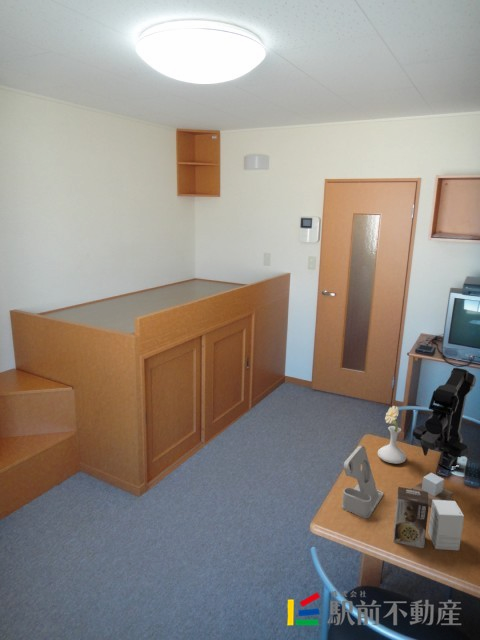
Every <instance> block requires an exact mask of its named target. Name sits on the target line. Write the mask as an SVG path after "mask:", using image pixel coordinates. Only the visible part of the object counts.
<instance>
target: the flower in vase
mask: <svg viewBox="0 0 480 640" xmlns="http://www.w3.org/2000/svg"><path fill="white" fill-rule="evenodd" d="M399 414H400V412H399V407H398V406H396V405H392V407H391V406H390V407H389V408H388V410H387V412H386V413H385V416H384V421H385V423H386V424H389V425H390V424H392V425H390V426H388V428H387V429H388V431H389V433H390V440H389V441H390V442H389V443H388V444H386V445H384V446H381V448H379V449H378V451H377V455H378V457H379V459H381V460H382V461H384V462H386V463H390V464H395V465H396V464H397V465H398V464H402V463H404V462H405V461H406V460H407V455H406V453H405V452H404V451H403V450H402V449H401V448H400V447H399V446H398V445H397V439H398V435H399V433H400V432H401V431H402V428H401V427H399V425H398V421H397V420H398V416H399Z"/></svg>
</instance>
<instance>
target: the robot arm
mask: <svg viewBox="0 0 480 640" xmlns="http://www.w3.org/2000/svg"><path fill="white" fill-rule="evenodd" d="M476 380H477V378H476V375H474V374H473V373H472V372H470V371H469V370H467V369H466V368H460V367H453V368H452V370H451V373H450V375H449V377H448V379H447V380H446V382H445V383H444V384H442V385H439V386H438V387H436V389H435V390H433V392H432V396H431V399H430V402H429V406H428V410H431V411H432V413H431V415H430V416H429V417H428V418H427V419H426V421H425V423H424V425H423V424H421V425H419V426H417V427H414V428H413V429H412V436H413V437H414V439H416V440H417V441H419V444H420V446H421V449H422V452H423V456H425V457H426V456H427V455H428V452H429V449H430V450H431V451H432V450H436V449H438V451H439V452H442V455H441V456H442V457H441V461H442V462H441V464H442V465H445V466H447V467H448V468H449V467H450V466H456V465H457V464H458V460H459V458H462V457H465V455H467V454H468V453H469V451H470V450H469V446H468V445H467V444H465V443H463V439H464V437H463V434H462V433H461V426H462V420H463V415H464V411H465V407H466V406H465V405H466V401H467V396H468V395H469V394H470V392H472V390H473V388H474V387H475V386H476V382H477V381H476ZM439 462H440V461H439ZM439 462H437V464H438V463H439Z"/></svg>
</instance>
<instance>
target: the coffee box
mask: <svg viewBox="0 0 480 640" xmlns="http://www.w3.org/2000/svg"><path fill="white" fill-rule="evenodd" d="M396 497H397V498H396V507H395V514H394V515H395V516H394V518H395V519H394V525H393V526H394V527H393V543H398V544H400V545H401V544H403V545H407V546H411V547H414V548H419V549H425V542H426V534H427V526H428V517H429V516H428V515H429V510H430V509H429V508H430V506H429V497H428V492H425V491H419V490H414V489H412V488H407V487H401V486H398V488H397V495H396Z"/></svg>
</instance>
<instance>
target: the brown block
mask: <svg viewBox="0 0 480 640" xmlns="http://www.w3.org/2000/svg"><path fill="white" fill-rule="evenodd" d="M422 484H423V481H421V482H420V483H418V484H416V485H414V486H413V487H411V489H414V490H419V491H424V490H422ZM425 492H426V491H425ZM453 494H454V493H453V492H452V491H451V490H449V489H446V488H445V487H443V490H442V492H441V493H439V494H438V495H436V496H433V495H431V494H429V493H428V497H429V508H431V507H432V500H446V501H453Z"/></svg>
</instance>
